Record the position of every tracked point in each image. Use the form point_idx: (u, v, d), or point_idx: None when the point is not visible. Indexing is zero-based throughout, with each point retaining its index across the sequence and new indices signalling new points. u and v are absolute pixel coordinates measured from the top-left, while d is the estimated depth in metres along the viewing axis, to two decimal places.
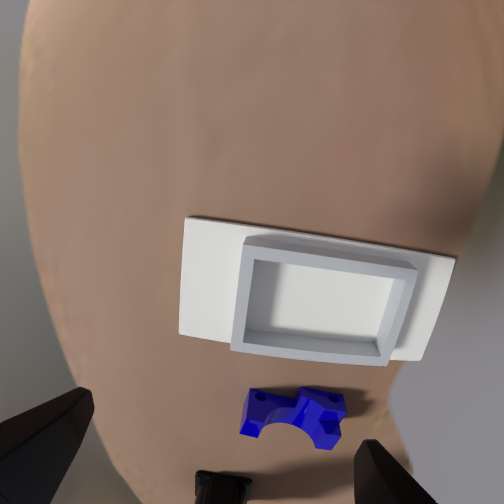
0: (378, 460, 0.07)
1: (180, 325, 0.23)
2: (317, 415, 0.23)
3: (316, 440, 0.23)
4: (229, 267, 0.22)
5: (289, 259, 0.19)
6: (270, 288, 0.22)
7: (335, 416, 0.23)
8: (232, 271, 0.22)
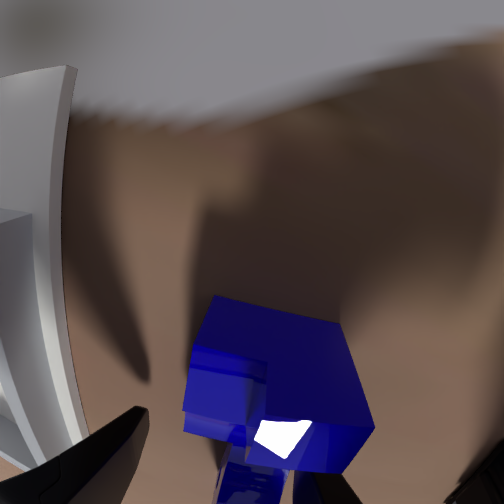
0: None
1: None
2: None
3: None
4: None
5: None
6: (2, 402, 0.10)
7: (221, 379, 0.06)
8: None
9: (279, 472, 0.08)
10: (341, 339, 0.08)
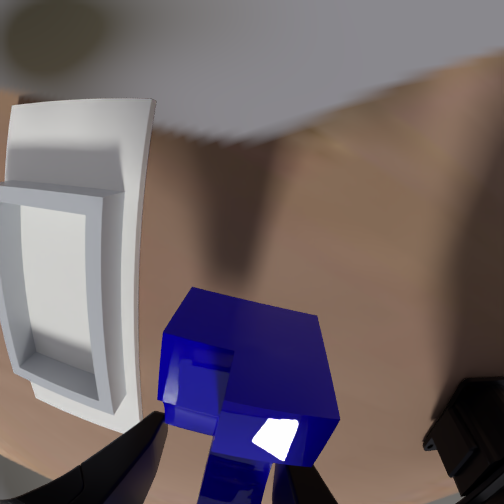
0: None
1: None
2: (202, 411, 0.07)
3: None
4: None
5: (9, 337, 0.14)
6: (63, 346, 0.16)
7: (191, 368, 0.06)
8: None
9: (261, 467, 0.08)
10: (316, 331, 0.08)
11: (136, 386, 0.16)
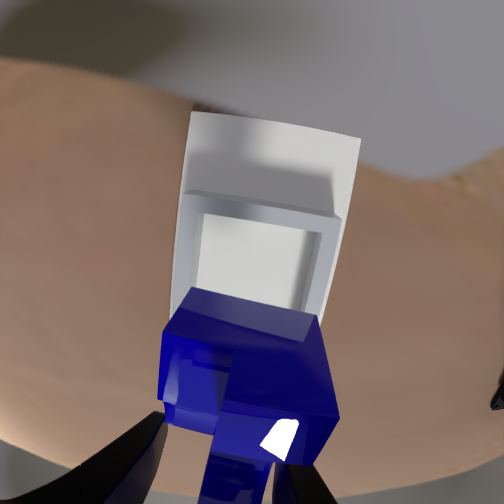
0: None
1: None
2: None
3: None
4: None
5: None
6: None
7: (191, 367, 0.06)
8: None
9: (261, 466, 0.08)
10: (316, 330, 0.08)
11: None
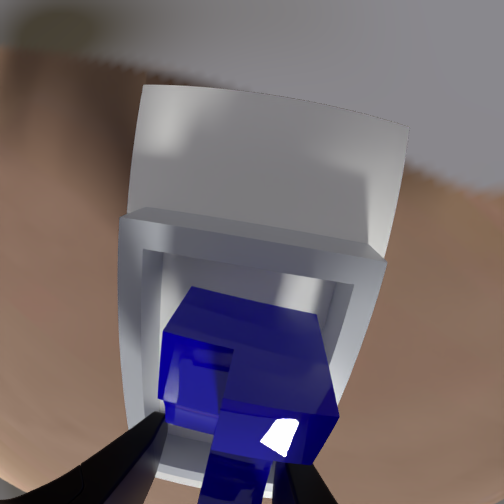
0: None
1: None
2: None
3: None
4: None
5: None
6: None
7: (191, 367, 0.06)
8: None
9: (262, 466, 0.08)
10: (316, 329, 0.08)
11: None
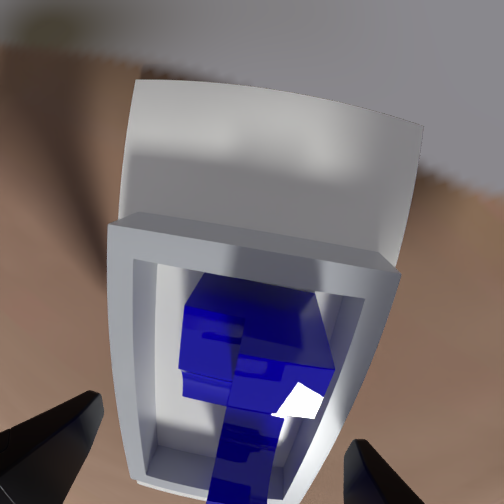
0: (366, 460, 0.07)
1: None
2: (218, 378, 0.08)
3: None
4: None
5: (135, 447, 0.10)
6: (213, 440, 0.12)
7: (208, 336, 0.08)
8: None
9: (270, 436, 0.10)
10: (314, 304, 0.09)
11: None
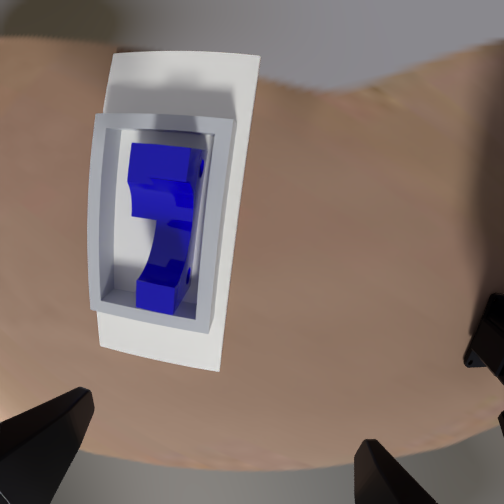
0: (378, 460, 0.07)
1: (208, 368, 0.21)
2: (147, 186, 0.15)
3: (179, 181, 0.14)
4: None
5: (95, 267, 0.17)
6: None
7: (142, 157, 0.15)
8: None
9: (184, 243, 0.17)
10: None
11: (226, 307, 0.19)
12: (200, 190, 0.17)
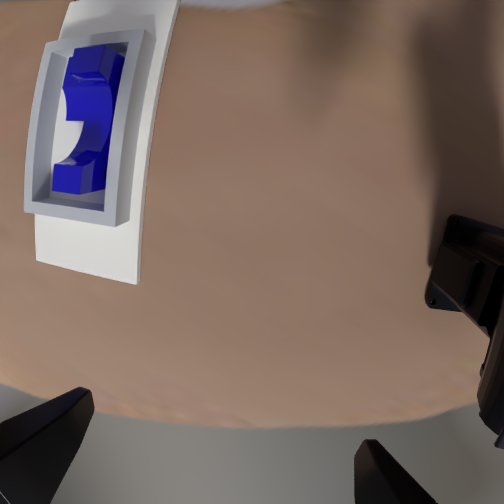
0: (378, 460, 0.07)
1: (126, 280, 0.20)
2: (76, 90, 0.15)
3: (95, 75, 0.13)
4: (64, 222, 0.19)
5: (30, 169, 0.16)
6: None
7: None
8: (66, 219, 0.19)
9: (103, 137, 0.16)
10: None
11: (140, 209, 0.19)
12: None
